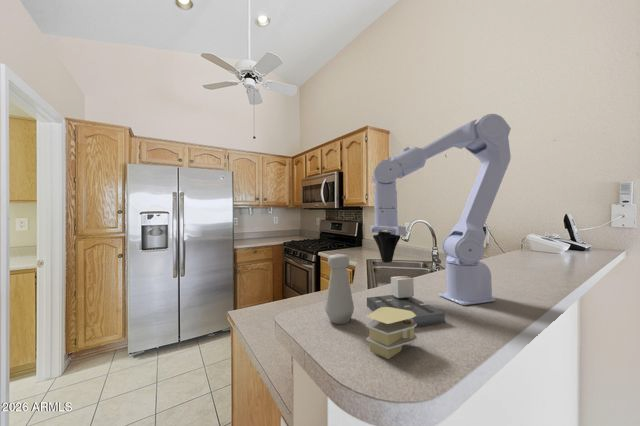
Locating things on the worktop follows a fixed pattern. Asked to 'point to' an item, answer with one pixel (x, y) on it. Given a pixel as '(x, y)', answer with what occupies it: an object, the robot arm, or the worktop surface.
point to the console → (423, 311)
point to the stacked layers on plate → (390, 330)
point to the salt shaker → (339, 291)
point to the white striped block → (402, 286)
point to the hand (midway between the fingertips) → (387, 262)
